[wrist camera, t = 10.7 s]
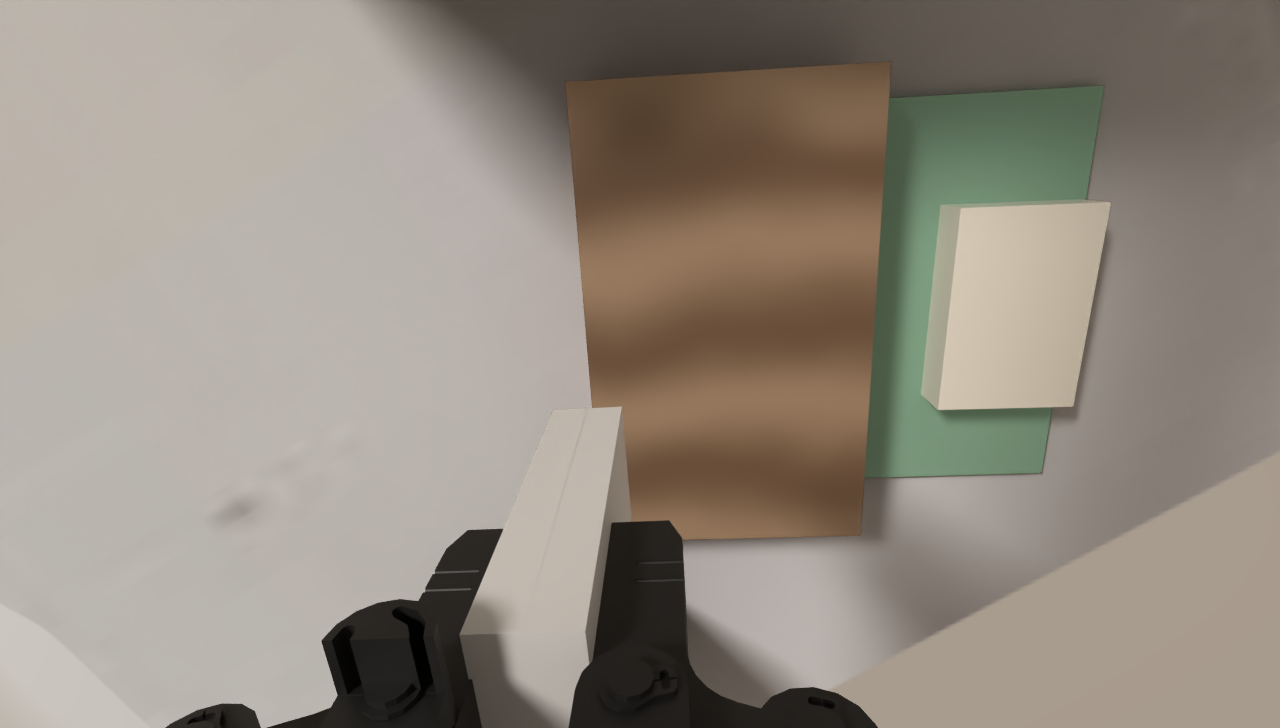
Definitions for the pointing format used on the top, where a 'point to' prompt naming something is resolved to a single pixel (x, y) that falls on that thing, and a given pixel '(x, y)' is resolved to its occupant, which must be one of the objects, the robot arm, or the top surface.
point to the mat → (912, 194)
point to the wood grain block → (734, 288)
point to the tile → (1011, 302)
